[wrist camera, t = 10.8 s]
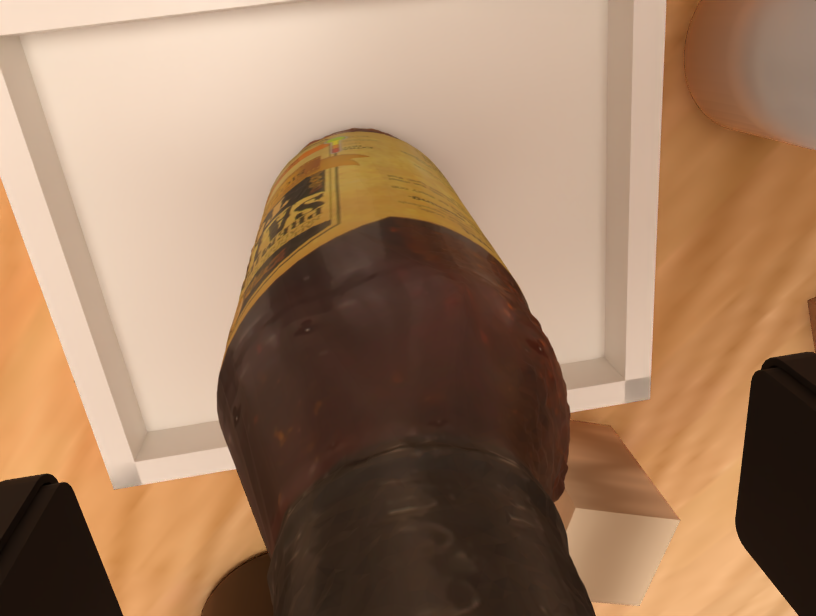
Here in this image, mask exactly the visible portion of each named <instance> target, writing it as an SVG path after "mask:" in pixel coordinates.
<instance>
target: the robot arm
mask: <svg viewBox="0 0 816 616" xmlns="http://www.w3.org/2000/svg"><path fill="white" fill-rule="evenodd" d="M735 525H736V530H737V533H738V537H739V539H740V541H741V543H742V545H743V546H744V548H745V549H746V550H747V551H748V553H749V554H750V555H751V556H752V558H753V559H754V560H755V561H756V563H757V564H758V565H759V566H760V568H761V569H762V570H763V571H764V573H765V574H766V575H767V576H768V578H769V579H770V580H771V582H772V583H773V584H774V585H775V587H776V588H777V589H778V590H779V592H780V593H781V594H782V595H783V597H784V598H785V599H786V600H787V602H788V603H789V604H790V605H791V607H792V608H793V609H794V610H795V612H796V613H797V614H798V615H799V616H816V353H814V352H804V353H798V354H791V355H785V356H779V357H773V358H769V359H767V360H766V361H765V362H764V364H763V365H762V368H761V370H758V371H757V372H755V373H754V375H753V377H752V381H751V388H750V397H749V405H748V414H747V423H746V431H745V440H744V448H743V457H742V466H741V474H740V483H739V492H738V500H737V509H736V517H735ZM0 616H123V614H122V611H121V609H120V606H119V604H118V601H117V599H116V596H115V594H114V591H113V589H112V586H111V584H110V581H109V579H108V576H107V574H106V571H105V569H104V566H103V564H102V561H101V559H100V556H99V554H98V551H97V549H96V546H95V544H94V541H93V539H92V536H91V534H90V531H89V529H88V526H87V523H86V521H85V518H84V516H83V513H82V511H81V508H80V506H79V503H78V501H77V498H76V496H75V493H74V491H73V489H72V487H71V486H70V485H69V484H68V483H65V482H62V483H58V481H57V479H56V478H55V477H54V476H53V475H50V474H41V475H35V476H29V477H23V478H16V479H10V480H5V481H2V482H0Z"/></svg>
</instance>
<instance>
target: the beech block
mask: <svg viewBox="0 0 816 616" xmlns="http://www.w3.org/2000/svg"><path fill="white" fill-rule="evenodd" d="M567 465H568V471H567V473H566V476H565V480H564V484H565V490H564V492H563V494H562V495H561V497H560V498H559V500H557V501H555V502H554V504H555V506H556V508H557V510H558V512H559V514H560V517H561V519H562V522H563V524H564V527H565V530H566V533H567V538H568V547H569V555H570V557H571V559H572V561H573V563H574V565H575V567H576V570H577V572H578V575H579V577H580V578H581V580H582V582H583V583H584V585H585V588H586V590H587V593H588V596H589V598H590V601H591V602H598V603H610V604H621V605H633V606H640V604H641V602H642V600H643V598H644V596H645V594H646V592H647V589H648V587H649V585H650V583H651V581H652V579H653V577H654V575H655V573H656V571H657V568H658V566H659V564H660V562H661V560H662V558H663V556H664V554H665V552H666V549H667V547H668V545H669V543H670V541H671V539H672V537H673V535H674V533H675V531H676V528H677V526H678V524H679V522H680V519H679V518H678V516H677V515H676V514H675V512H674V511H673V510H672V508H671V507H670V506H669V504H668V503H667V501H666V500H665V499H664V497H663V496H662V495H661V493H660V492H659V491H658V489H657V488H656V487H655V485H654V484H653V482H652V481H651V480H650V478H649V477H648V476H647V474H646V473H645V472H644V470H643V469H642V468H641V466H640V465H639V463H638V462H637V461H636V459H635V458H634V457H633V455H632V454H631V453H630V451H629V450H628V449H627V447H626V446H625V444H624V443H623V442H622V440H621V439H620V438H619V436H618V435H617V434H616V432H615V431H614V430H613V428H612V427H611V426H607V425H601V424H594V423H587V422H580V421H573V420H570V443H569V455H568V462H567Z"/></svg>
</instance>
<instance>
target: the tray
mask: <svg viewBox="0 0 816 616" xmlns="http://www.w3.org/2000/svg"><path fill="white" fill-rule="evenodd" d="M665 24H666V0H0V177H1V180H2V182H3V185H4V188H5V191H6V193H7V196H8V199H9V202H10V204H11V207H12V210H13V213H14V215H15V218H16V221H17V224H18V226H19V229H20V232H21V235H22V238H23V240H24V243H25V246H26V249H27V251H28V254H29V257H30V260H31V262H32V265H33V268H34V271H35V273H36V276H37V279H38V282H39V284H40V287H41V290H42V293H43V295H44V298H45V301H46V304H47V306H48V309H49V312H50V315H51V317H52V320H53V323H54V326H55V328H56V331H57V334H58V337H59V339H60V342H61V345H62V348H63V350H64V353H65V356H66V359H67V361H68V364H69V367H70V370H71V372H72V375H73V378H74V381H75V383H76V386H77V389H78V392H79V394H80V397H81V400H82V403H83V405H84V408H85V411H86V414H87V416H88V419H89V422H90V425H91V427H92V430H93V433H94V436H95V438H96V441H97V444H98V447H99V449H100V452H101V455H102V458H103V460H104V463H105V466H106V469H107V471H108V474H109V477H110V480H111V482H112V485H113V488H114V490H115V489H121V488H126V487H132V486H138V485H144V484H150V483H156V482H162V481H168V480H174V479H180V478H186V477H192V476H198V475H204V474H210V473H215V472H221V471H227V470H233V469H236V467H235V464H234V462H233V459H232V457H231V454H230V451H229V449H228V446H227V444H226V441H225V439H224V436H223V433H222V430H221V427H220V424H219V419H218V414H217V386H218V377H219V372H220V368H221V364H222V361H223V357H224V353H225V349H226V344H227V340H228V335H229V331H230V328H231V326H232V322H233V319H234V316H235V313H236V309H237V306H238V302H239V296H240V293H241V288H242V284H243V282H244V279H245V276H246V272H247V266H248V264H249V260H250V256H251V250H252V248H253V246H254V244H255V240H256V236H257V233H258V230H259V226H260V223H261V219H262V216H263V212H264V208H265V205H266V202H267V198H268V196H269V193H270V190H271V188H272V186H273V184H274V182H275V180H276V178H277V177H278V175H279V174H280V172H281V171H282V170H283V168H284V167H285V166H286V165H287V163H288V162H289V161H290V160H292V159H293V158H294V157H295V156H296V155H297V154H298V153H299V152H300V151H301V150H302V149H303V148H304V147H305V146H307V145H308V144H309V143H310V142H312V141H314V140H319V139H322V138H324V137H325V136H328V135H331V134H333V133H336V132H340V131H344V130H348V129H351V128H362V129H363V128H364V129H370V128H372V129H376V130H379V131H382V132H385V133H388V134H390V135H392V136H394V137H397V138H398V139H400V140H402V141H404V142H407V143H408V144H410V145H411V146H413V147H415V148H416V149H418V150H419V151H421V152H422V153H423V154H424V155H425V156H427V157H428V158H429V159H430V160H431V161H432V162H433V163H434V164H435V165H436V167H437V168H438V169H439V170H440V171H441V173H442V174H443V175H444V176H445V178H446V179H447V180H448V182H449V184H450V185H451V186H452V188H453V189H454V191H455V192H456V194H457V195H458V197H459V198H460V200H461V202H462V203H463V205H464V206H465V207H466V209H467V210H468V212H469V213H470V215H471V216H472V218H473V219H474V220H475V222H476V223H477V225H478V226H479V228H480V230H481V231H482V233H483V234H484V236H485V237H486V238H487V240H488V241H489V242H490V244H491V245H492V247H493V248H494V249H495V251H496V252H497V254H498V255H499V257H500V258H501V260H502V261H503V263H504V264H505V266H506V267H507V269H508V270H509V272H510V273H511V275H512V276H513V278H514V279H515V281H516V282H517V284H518V285H519V287H520V289H521V291H522V293H523V295H524V297H525V299H526V301H527V303H528V306H529V309H530V312H531V314H532V315H533V316H534V317H535V318H536V319H537V320H538V321H539V323H540V324H541V328H542V331H543V332H544V334H545V335H546V336H547V337H548V339H549V341H550V344H551V346H552V348H553V350H554V352H555V355H556V358H557V361H558V362H559V364H560V367H561V370H562V375H563V379H564V381H565V383H566V387H567V402H568V404H569V406H570V413H571V412H577V411H583V410H589V409H595V408H601V407H607V406H613V405H619V404H625V403H631V402H637V401H643V400H648V399H650V387H651V363H652V339H653V314H654V290H655V266H656V242H657V217H658V193H659V169H660V145H661V121H662V96H663V72H664V48H665Z"/></svg>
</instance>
